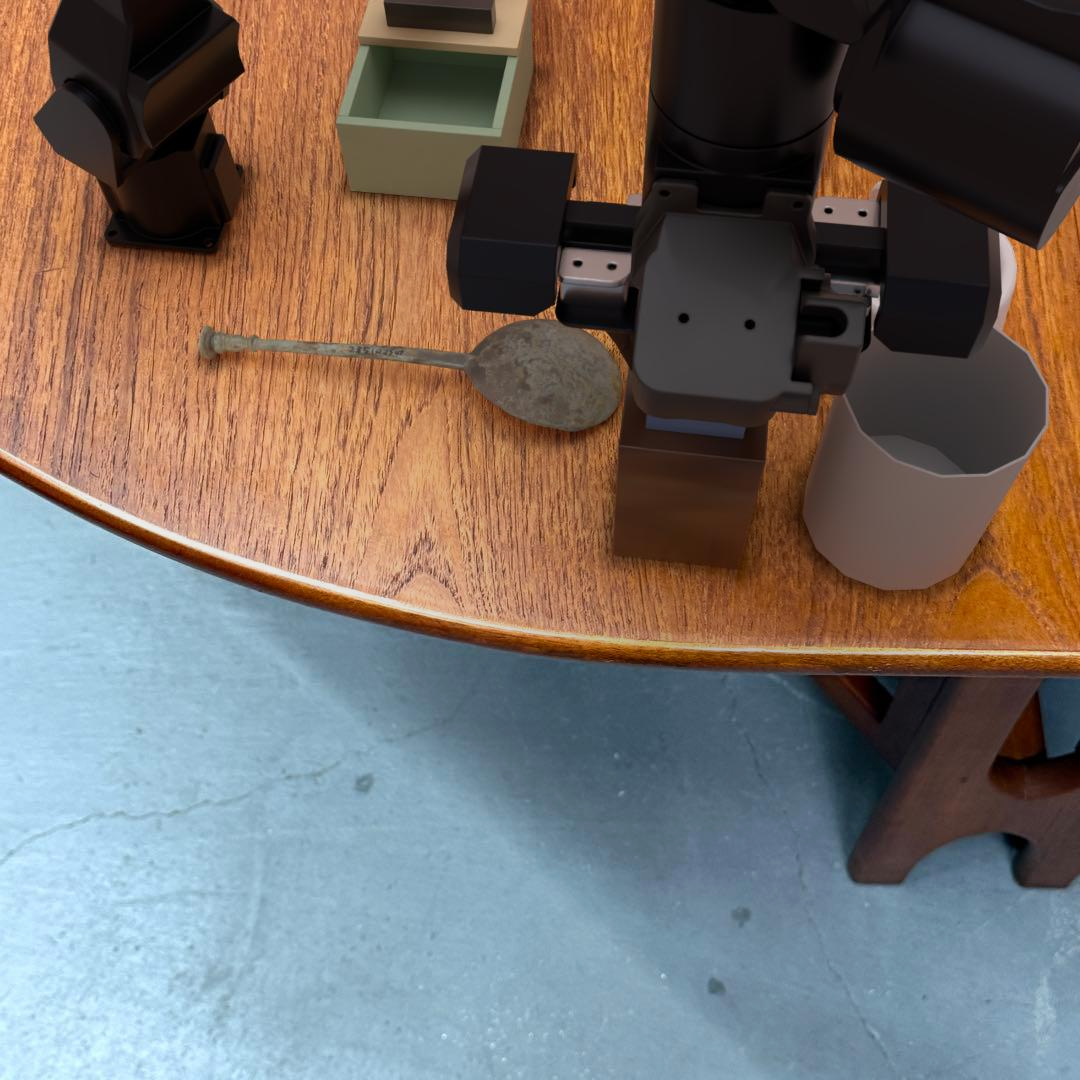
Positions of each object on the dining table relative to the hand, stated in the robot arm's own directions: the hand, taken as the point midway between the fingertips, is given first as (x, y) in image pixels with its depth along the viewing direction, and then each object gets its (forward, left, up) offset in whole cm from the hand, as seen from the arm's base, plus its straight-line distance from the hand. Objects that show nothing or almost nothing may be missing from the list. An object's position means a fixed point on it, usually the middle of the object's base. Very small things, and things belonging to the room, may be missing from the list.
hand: (698, 386), depth 51 cm
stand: (0, 0, -10) cm, 10 cm away
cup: (+10, +1, -10) cm, 14 cm away
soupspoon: (-14, +6, -10) cm, 19 cm away
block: (0, 0, 0) cm, 1 cm away
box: (-16, +24, -10) cm, 30 cm away
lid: (-16, +30, -5) cm, 34 cm away
